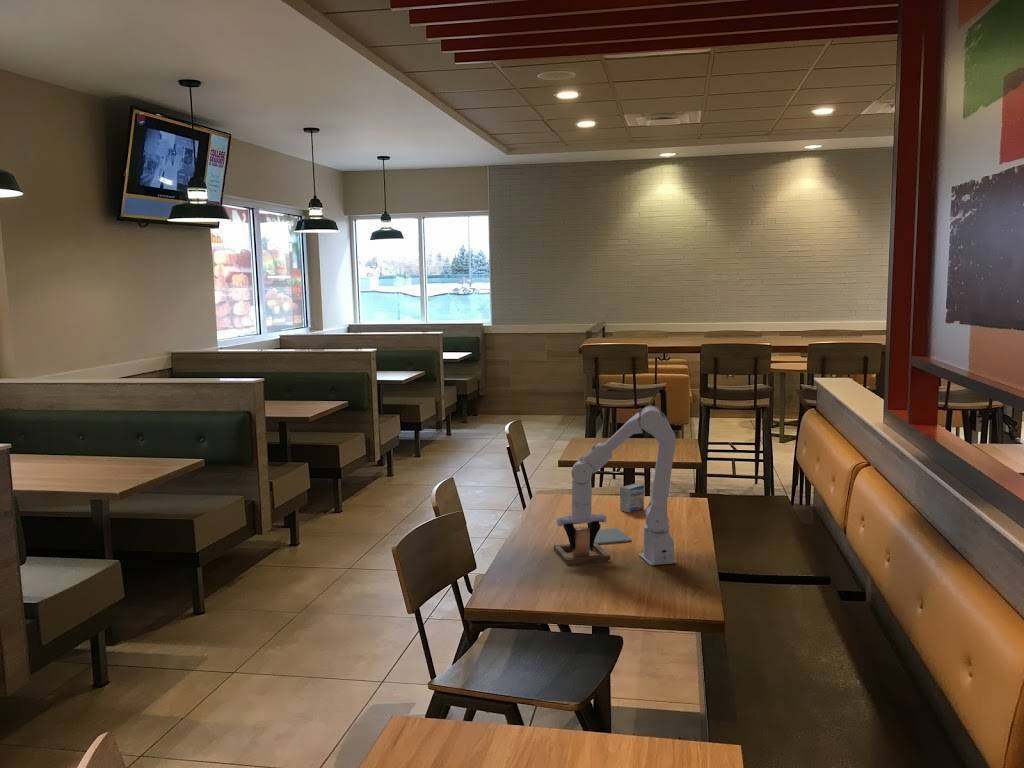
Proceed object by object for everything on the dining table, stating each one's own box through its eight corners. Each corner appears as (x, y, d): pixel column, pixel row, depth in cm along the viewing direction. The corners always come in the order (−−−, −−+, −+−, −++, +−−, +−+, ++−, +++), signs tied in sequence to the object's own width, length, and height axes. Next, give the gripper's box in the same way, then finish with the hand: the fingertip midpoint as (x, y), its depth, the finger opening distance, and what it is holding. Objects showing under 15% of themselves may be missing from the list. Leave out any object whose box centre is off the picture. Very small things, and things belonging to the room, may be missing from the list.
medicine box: (629, 513, 281) (629, 489, 280) (619, 510, 284) (619, 486, 283) (644, 509, 286) (644, 485, 285) (634, 506, 289) (634, 482, 288)
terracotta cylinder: (592, 557, 237) (592, 531, 236) (576, 559, 236) (576, 532, 235) (586, 552, 242) (586, 525, 241) (570, 553, 241) (570, 527, 240)
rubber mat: (631, 541, 251) (631, 539, 251) (594, 544, 248) (594, 542, 248) (617, 529, 263) (617, 528, 263) (582, 532, 260) (582, 531, 260)
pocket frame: (610, 560, 234) (610, 555, 234) (567, 565, 231) (567, 559, 231) (595, 546, 247) (595, 541, 247) (553, 550, 244) (553, 545, 244)
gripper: (561, 507, 231) (561, 554, 233) (610, 504, 235) (609, 549, 237) (554, 501, 238) (554, 546, 240) (601, 497, 242) (601, 542, 243)
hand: (581, 547), depth 239 cm, fingers closed on terracotta cylinder, 5 cm apart
